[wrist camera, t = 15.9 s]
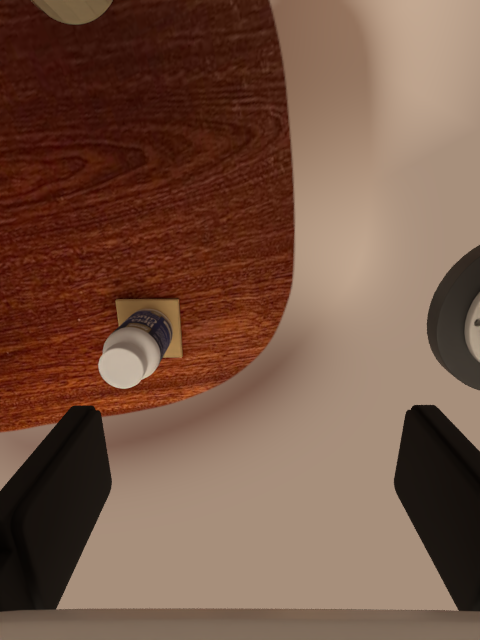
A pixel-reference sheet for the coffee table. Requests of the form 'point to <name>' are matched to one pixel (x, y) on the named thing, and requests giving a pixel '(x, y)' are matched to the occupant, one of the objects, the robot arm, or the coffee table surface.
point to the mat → (162, 305)
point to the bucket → (73, 9)
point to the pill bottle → (135, 348)
